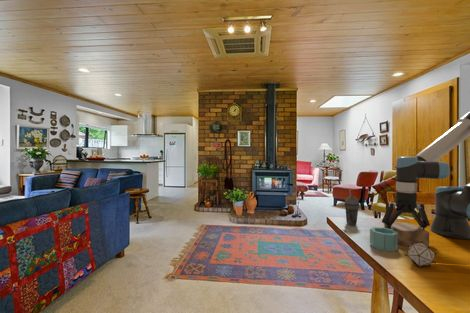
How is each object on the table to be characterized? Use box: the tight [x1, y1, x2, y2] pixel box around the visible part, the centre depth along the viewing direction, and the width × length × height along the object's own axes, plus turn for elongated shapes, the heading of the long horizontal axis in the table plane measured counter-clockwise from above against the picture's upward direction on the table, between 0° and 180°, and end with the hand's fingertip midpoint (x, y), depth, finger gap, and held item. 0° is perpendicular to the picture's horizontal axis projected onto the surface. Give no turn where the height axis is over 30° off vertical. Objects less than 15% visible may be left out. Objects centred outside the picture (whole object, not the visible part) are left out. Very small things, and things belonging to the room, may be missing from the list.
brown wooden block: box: [383, 221, 430, 247], centre depth 104 cm, size 11×13×6 cm
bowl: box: [369, 226, 399, 252], centre depth 96 cm, size 9×9×7 cm
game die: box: [404, 241, 438, 269], centre depth 81 cm, size 9×8×10 cm
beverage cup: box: [344, 188, 360, 227], centre depth 126 cm, size 7×7×20 cm
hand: (405, 240), depth 104 cm, fingers open, 11 cm apart
